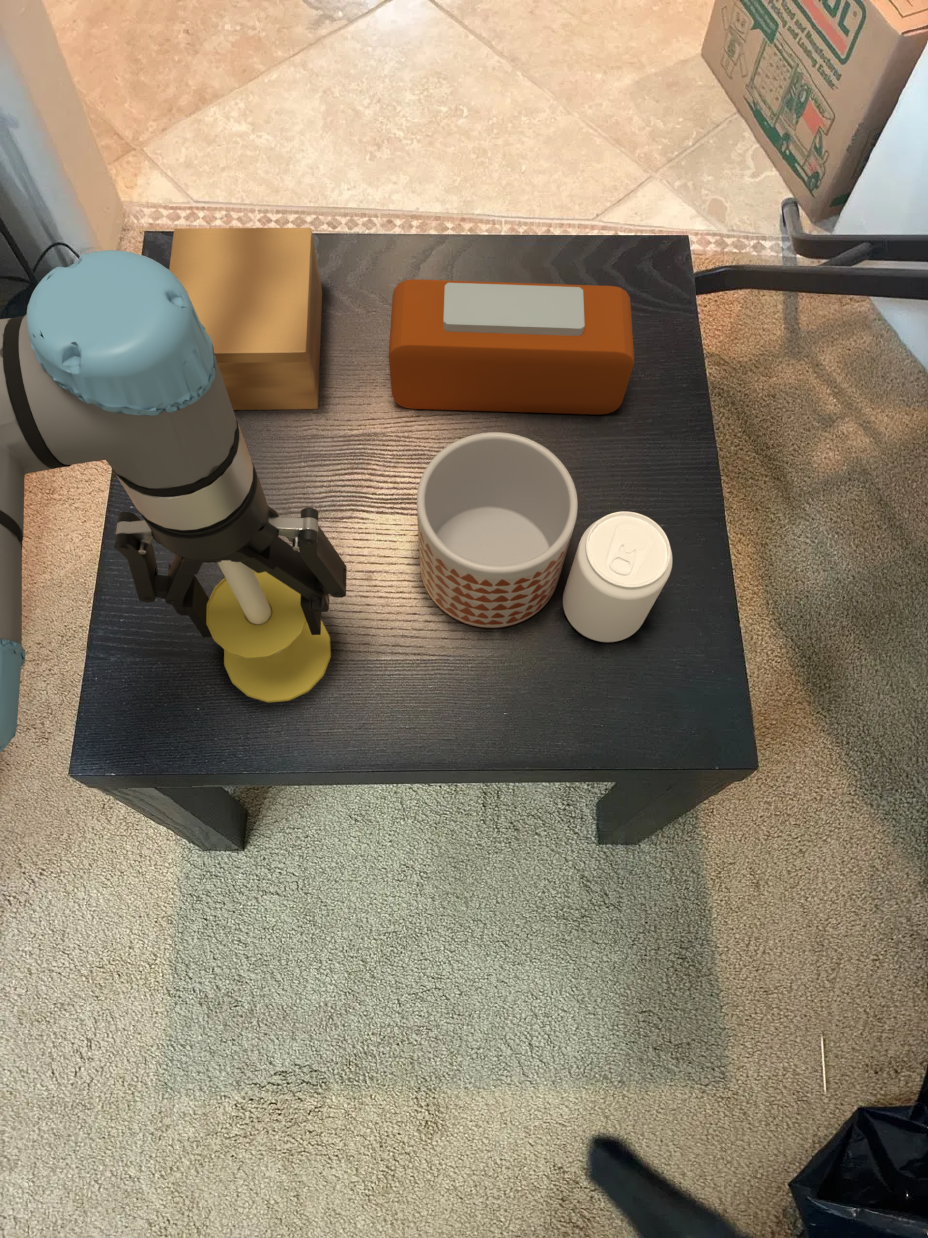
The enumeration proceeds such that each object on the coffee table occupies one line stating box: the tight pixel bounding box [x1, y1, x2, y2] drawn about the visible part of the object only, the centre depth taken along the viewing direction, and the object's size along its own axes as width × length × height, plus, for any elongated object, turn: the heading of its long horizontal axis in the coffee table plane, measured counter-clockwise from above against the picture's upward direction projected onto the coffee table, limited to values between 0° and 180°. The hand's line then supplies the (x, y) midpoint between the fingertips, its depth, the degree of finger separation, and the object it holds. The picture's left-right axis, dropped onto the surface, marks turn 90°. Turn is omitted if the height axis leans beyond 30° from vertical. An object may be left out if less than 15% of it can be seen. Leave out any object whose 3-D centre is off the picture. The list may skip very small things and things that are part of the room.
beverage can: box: [562, 511, 673, 643], centre depth 78 cm, size 8×8×12 cm
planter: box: [416, 431, 579, 629], centre depth 79 cm, size 14×14×13 cm
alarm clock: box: [388, 278, 635, 416], centre depth 89 cm, size 24×8×11 cm, turn 89°
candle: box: [206, 560, 332, 704], centre depth 69 cm, size 10×10×27 cm
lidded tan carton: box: [168, 227, 323, 411], centre depth 90 cm, size 14×16×9 cm
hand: (263, 621), depth 74 cm, fingers closed on candle, 8 cm apart
